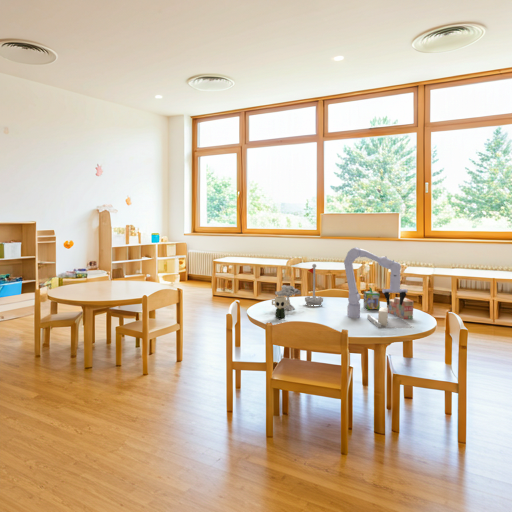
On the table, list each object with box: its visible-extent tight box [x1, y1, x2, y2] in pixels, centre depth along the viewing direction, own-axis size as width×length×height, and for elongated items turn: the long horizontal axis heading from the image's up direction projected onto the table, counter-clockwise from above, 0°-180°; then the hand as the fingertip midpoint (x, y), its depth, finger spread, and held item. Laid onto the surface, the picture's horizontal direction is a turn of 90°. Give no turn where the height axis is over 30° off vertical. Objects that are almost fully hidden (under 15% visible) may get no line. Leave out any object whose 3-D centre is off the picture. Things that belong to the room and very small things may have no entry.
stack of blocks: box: [386, 296, 414, 320], centre depth 259 cm, size 21×6×12 cm, turn 10°
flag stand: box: [304, 263, 324, 307], centre depth 295 cm, size 13×13×30 cm
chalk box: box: [363, 286, 381, 310], centre depth 283 cm, size 9×9×15 cm
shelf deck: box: [373, 317, 414, 329], centre depth 239 cm, size 22×20×1 cm
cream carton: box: [377, 306, 389, 326], centre depth 239 cm, size 5×11×8 cm, turn 159°
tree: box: [274, 284, 302, 311], centre depth 281 cm, size 18×16×17 cm
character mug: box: [271, 295, 290, 319], centre depth 256 cm, size 11×7×13 cm, turn 83°
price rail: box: [366, 313, 382, 329], centre depth 239 cm, size 22×2×2 cm, turn 0°
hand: (394, 304), depth 245 cm, fingers open, 7 cm apart
